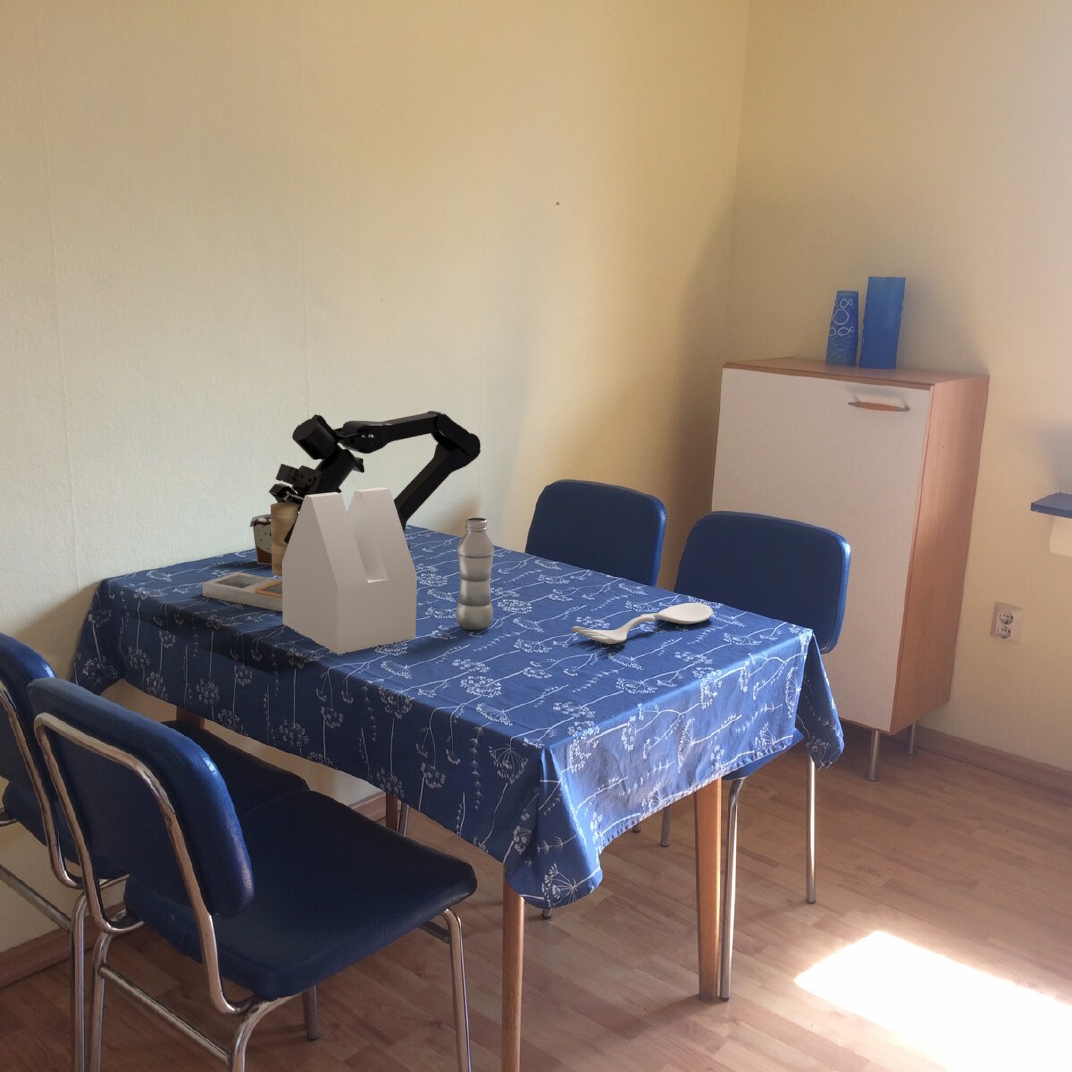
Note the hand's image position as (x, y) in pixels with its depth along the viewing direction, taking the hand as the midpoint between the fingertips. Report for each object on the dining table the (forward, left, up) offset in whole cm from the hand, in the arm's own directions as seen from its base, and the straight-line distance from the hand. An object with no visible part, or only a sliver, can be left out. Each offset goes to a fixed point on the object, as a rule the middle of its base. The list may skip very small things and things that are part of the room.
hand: (278, 539), depth 206 cm
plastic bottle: (-38, -6, -13) cm, 41 cm away
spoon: (-66, -22, -13) cm, 71 cm away
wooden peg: (-1, -1, -7) cm, 7 cm away
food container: (+19, -25, -13) cm, 34 cm away
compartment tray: (+5, -1, -12) cm, 13 cm away
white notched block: (-20, +7, -13) cm, 25 cm away
